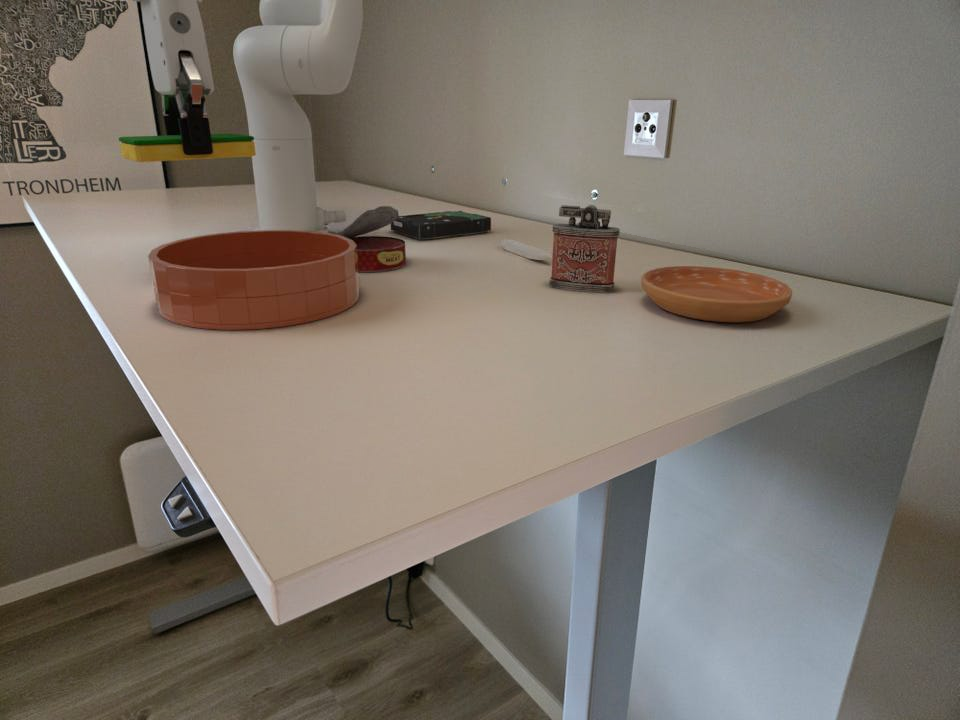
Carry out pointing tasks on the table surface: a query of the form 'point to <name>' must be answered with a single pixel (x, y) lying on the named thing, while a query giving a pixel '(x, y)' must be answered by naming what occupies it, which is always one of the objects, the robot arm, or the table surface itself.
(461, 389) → the table surface
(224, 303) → the basin
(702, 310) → the saucer
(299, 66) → the robot arm
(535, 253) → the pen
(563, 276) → the lighter
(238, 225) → the table surface
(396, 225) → the disk drive
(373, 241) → the canned food
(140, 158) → the dish sponge
